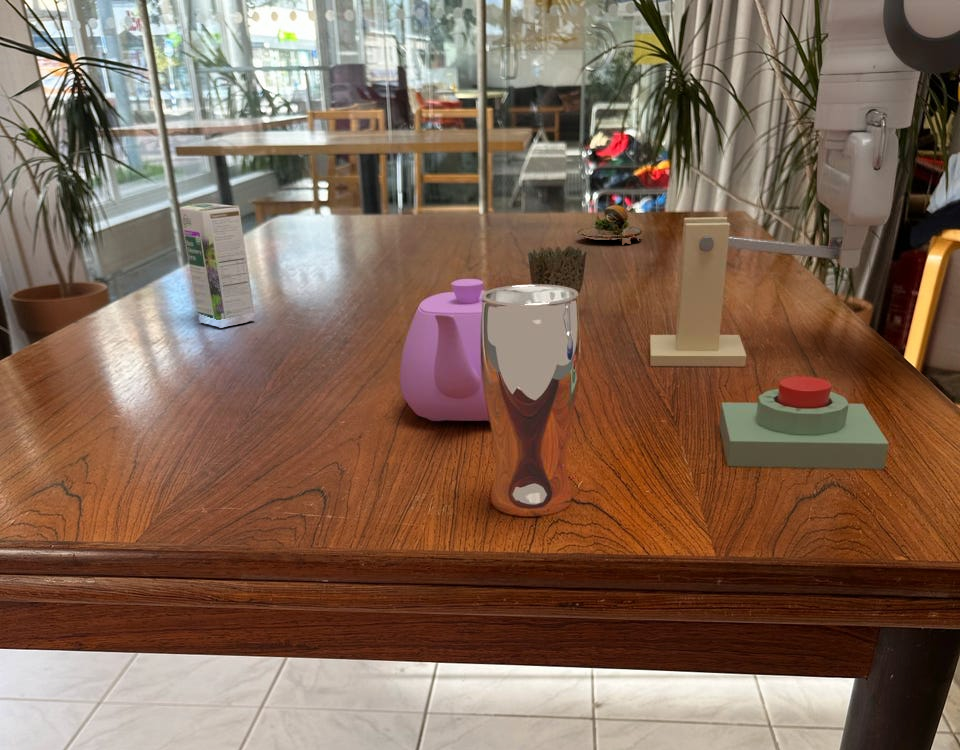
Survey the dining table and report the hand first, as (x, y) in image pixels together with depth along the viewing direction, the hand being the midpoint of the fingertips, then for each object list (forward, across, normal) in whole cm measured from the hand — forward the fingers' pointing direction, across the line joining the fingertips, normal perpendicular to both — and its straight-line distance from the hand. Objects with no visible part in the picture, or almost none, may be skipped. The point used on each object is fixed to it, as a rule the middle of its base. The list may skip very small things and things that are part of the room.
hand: (842, 261), depth 97 cm
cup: (+10, +20, +31) cm, 38 cm away
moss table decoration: (+9, +80, +26) cm, 85 cm away
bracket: (+10, 0, +14) cm, 17 cm away
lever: (0, 0, +8) cm, 8 cm away
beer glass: (+10, -42, +28) cm, 52 cm away
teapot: (+10, -21, +36) cm, 43 cm away
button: (+6, -29, +7) cm, 30 cm away
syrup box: (+9, +16, +75) cm, 77 cm away
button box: (+10, -29, +7) cm, 31 cm away
